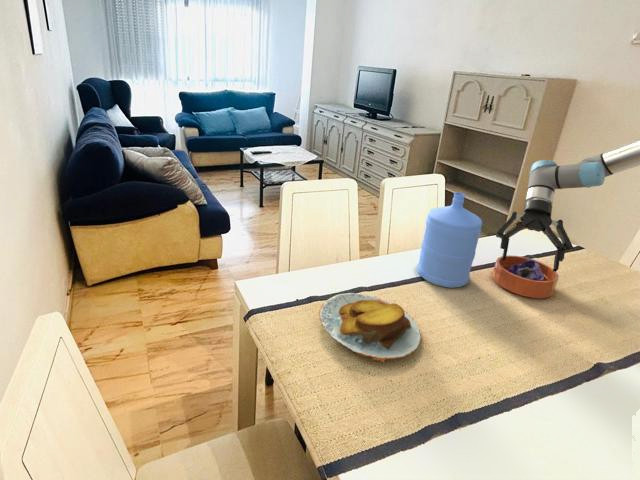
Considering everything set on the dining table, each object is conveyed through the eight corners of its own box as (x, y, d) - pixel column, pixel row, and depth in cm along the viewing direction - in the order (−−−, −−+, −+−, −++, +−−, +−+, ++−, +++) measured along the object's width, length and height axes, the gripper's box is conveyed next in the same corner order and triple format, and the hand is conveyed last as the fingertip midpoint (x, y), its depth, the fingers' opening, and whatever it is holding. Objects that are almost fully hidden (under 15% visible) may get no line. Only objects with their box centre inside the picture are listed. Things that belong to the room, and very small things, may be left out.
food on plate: (338, 291, 114) (340, 272, 111) (426, 318, 103) (430, 298, 101) (302, 341, 93) (304, 318, 90) (408, 382, 82) (413, 357, 80)
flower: (522, 254, 126) (526, 252, 117) (547, 272, 122) (553, 272, 113) (502, 274, 127) (503, 274, 119) (526, 293, 124) (529, 295, 115)
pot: (555, 283, 123) (560, 267, 121) (549, 306, 111) (555, 288, 109) (497, 266, 132) (502, 250, 130) (486, 285, 120) (491, 268, 118)
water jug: (464, 294, 115) (486, 207, 105) (411, 278, 122) (426, 195, 112) (471, 273, 127) (491, 193, 117) (422, 259, 135) (437, 183, 125)
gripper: (581, 217, 122) (574, 279, 115) (493, 202, 133) (482, 258, 126) (589, 206, 116) (583, 271, 109) (497, 191, 127) (485, 249, 120)
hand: (529, 264), depth 117 cm, fingers open, 13 cm apart
